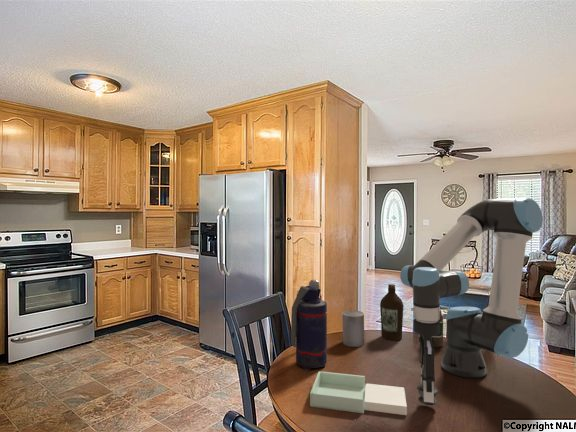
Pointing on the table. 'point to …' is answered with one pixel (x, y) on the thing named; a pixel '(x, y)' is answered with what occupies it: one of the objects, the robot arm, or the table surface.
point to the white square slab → (385, 399)
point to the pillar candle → (353, 328)
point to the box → (338, 392)
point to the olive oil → (391, 315)
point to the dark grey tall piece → (421, 391)
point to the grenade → (309, 328)
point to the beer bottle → (439, 338)
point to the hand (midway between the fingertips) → (427, 395)
